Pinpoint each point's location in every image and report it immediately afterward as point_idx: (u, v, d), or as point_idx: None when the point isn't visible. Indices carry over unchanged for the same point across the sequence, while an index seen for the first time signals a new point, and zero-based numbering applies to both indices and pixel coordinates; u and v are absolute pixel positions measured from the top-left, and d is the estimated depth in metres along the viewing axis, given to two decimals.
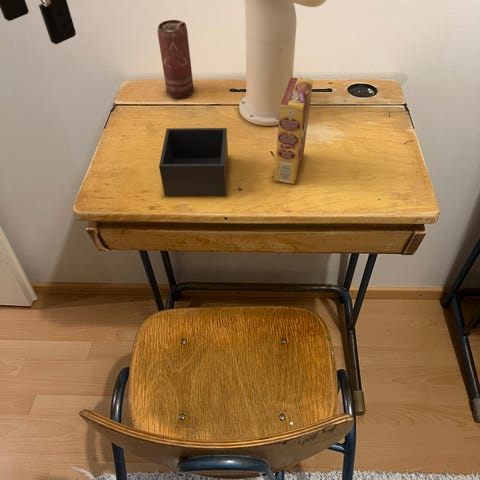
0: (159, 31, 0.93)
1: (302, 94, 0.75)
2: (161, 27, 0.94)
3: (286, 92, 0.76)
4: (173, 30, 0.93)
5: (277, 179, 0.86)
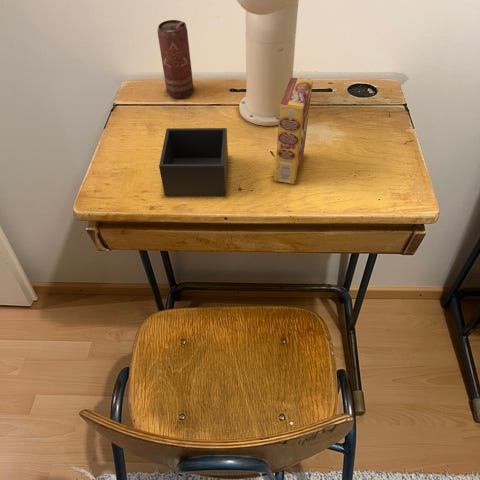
0: (159, 31, 0.93)
1: (302, 94, 0.75)
2: (161, 27, 0.94)
3: (286, 92, 0.76)
4: (173, 30, 0.93)
5: (277, 179, 0.86)
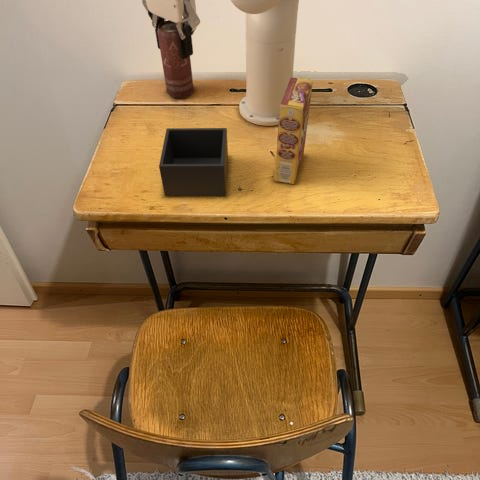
0: (159, 31, 0.93)
1: (302, 94, 0.75)
2: (161, 27, 0.94)
3: (286, 92, 0.76)
4: (173, 30, 0.93)
5: (277, 179, 0.86)
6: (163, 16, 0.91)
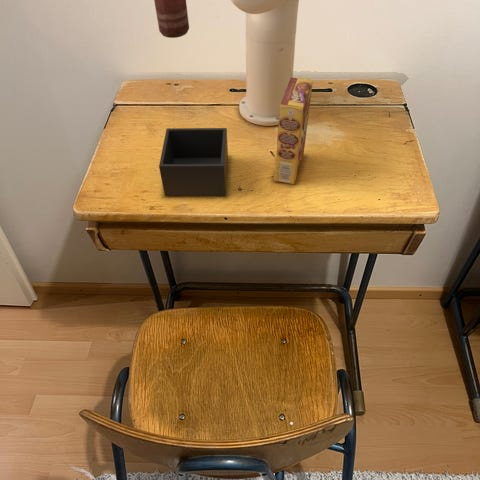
0: None
1: (302, 94, 0.75)
2: None
3: (286, 92, 0.76)
4: None
5: (277, 179, 0.86)
6: None
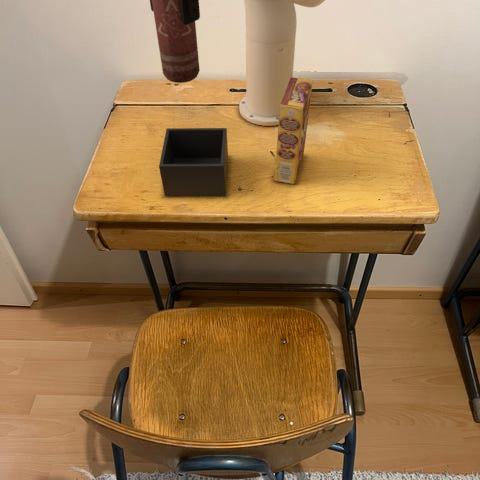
0: None
1: (302, 95, 0.75)
2: None
3: (286, 92, 0.76)
4: None
5: (277, 179, 0.86)
6: None
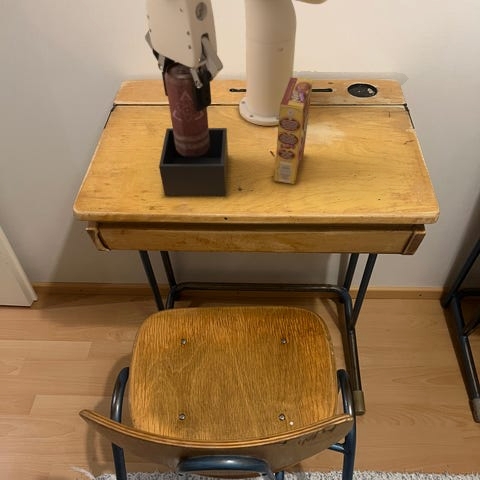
0: (167, 76, 0.71)
1: (302, 95, 0.75)
2: (170, 71, 0.72)
3: (286, 92, 0.76)
4: (186, 75, 0.71)
5: (277, 179, 0.86)
6: (173, 58, 0.69)
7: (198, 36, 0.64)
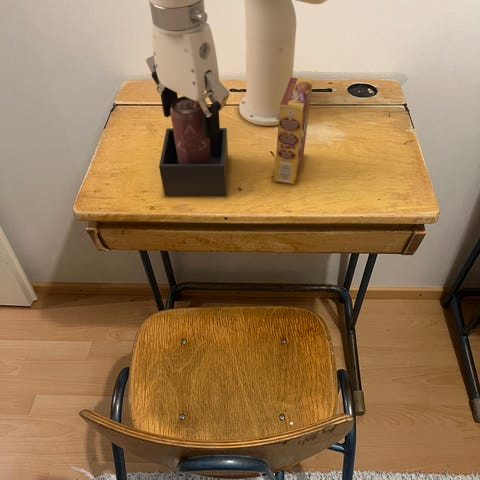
0: (173, 111, 0.76)
1: (302, 94, 0.75)
2: (175, 106, 0.76)
3: (286, 92, 0.76)
4: (190, 110, 0.76)
5: (277, 179, 0.86)
6: (178, 91, 0.73)
7: (202, 73, 0.68)
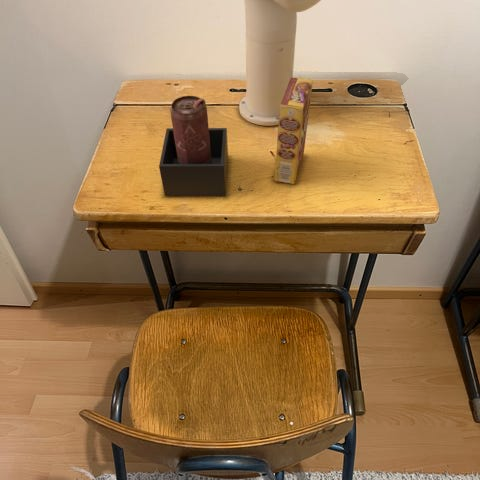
0: (172, 112, 0.76)
1: (302, 94, 0.75)
2: (175, 106, 0.76)
3: (286, 92, 0.76)
4: (190, 110, 0.75)
5: (277, 179, 0.86)
6: None
7: None
